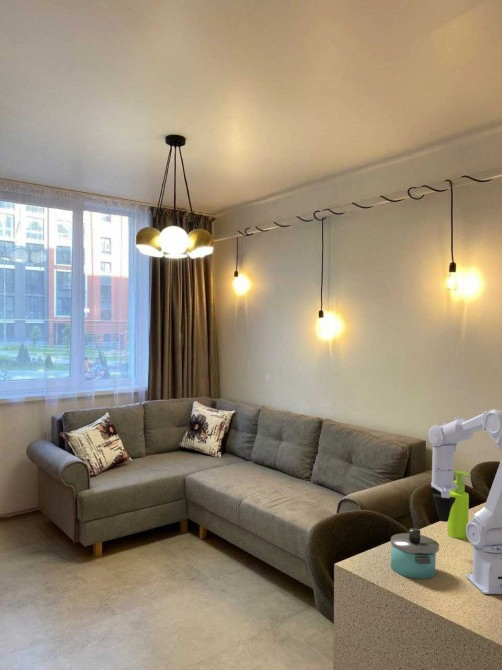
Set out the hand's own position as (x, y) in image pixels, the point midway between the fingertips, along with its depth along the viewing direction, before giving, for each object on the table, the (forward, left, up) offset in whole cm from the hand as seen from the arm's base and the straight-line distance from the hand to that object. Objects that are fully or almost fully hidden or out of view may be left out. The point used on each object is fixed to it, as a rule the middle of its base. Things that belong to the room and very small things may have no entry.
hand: (441, 516), depth 142 cm
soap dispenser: (+14, -12, -11) cm, 21 cm away
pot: (-10, +12, -10) cm, 19 cm away
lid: (-10, +12, -4) cm, 16 cm away
